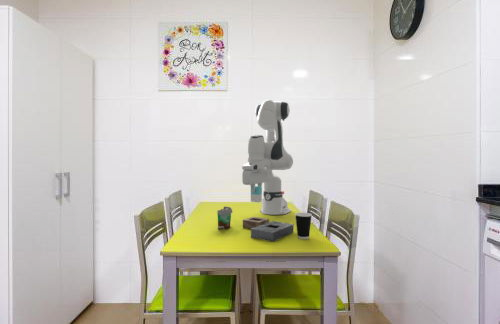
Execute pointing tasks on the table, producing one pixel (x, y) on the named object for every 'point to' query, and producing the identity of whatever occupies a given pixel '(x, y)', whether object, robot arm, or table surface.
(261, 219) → the brown hollow square block
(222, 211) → the food container
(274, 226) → the port box
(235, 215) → the table surface
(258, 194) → the plug
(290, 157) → the robot arm
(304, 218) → the dixie cup
